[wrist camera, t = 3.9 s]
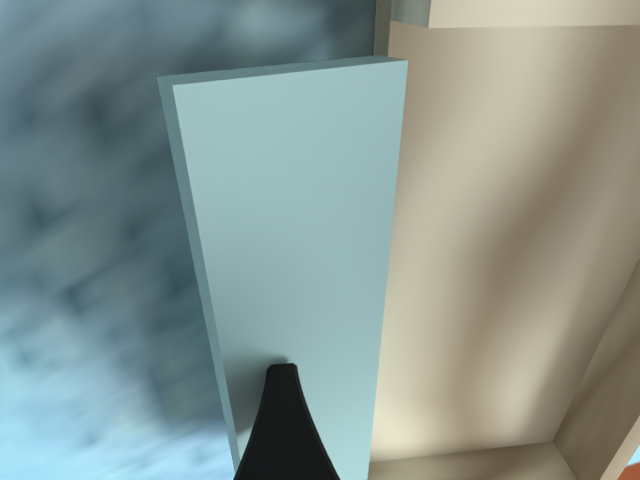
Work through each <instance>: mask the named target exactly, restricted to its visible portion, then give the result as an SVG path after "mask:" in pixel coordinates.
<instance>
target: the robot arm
mask: <svg viewBox="0 0 640 480" xmlns="http://www.w3.org/2000/svg"><path fill="white" fill-rule="evenodd" d="M233 480H340V478H339V476H338V474H337V472H336V470H335V468H334V466H333V464H332V462H331V460H330V458H329V456H328V454H327V451H326V449H325V447H324V445H323V443H322V441H321V438H320V436H319V433H318V431H317V429H316V426H315V424H314V422H313V419H312V417H311V414H310V411H309V409H308V406H307V403H306V400H305V397H304V394H303V390H302V387H301V383H300V379H299V375H298V368H297V365H295V364H294V363H286V364H274V365H270V367H269V368H268V369H267V372H266V380H265V385H264V390H263V394H262V398H261V402H260V405H259V409H258V413H257V416H256V419H255V422H254V425H253V428H252V431H251V434H250V437H249V440H248V443H247V446H246V449H245V451H244V454H243V456H242V459H241V461H240V464H239V466H238V469H237V472H236V474H235V477H234V479H233Z"/></svg>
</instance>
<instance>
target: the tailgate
mask: <svg viewBox="0 0 640 480" xmlns="http://www.w3.org/2000/svg"><path fill="white" fill-rule="evenodd" d="M407 69H408V60H405V59H399V58H393V57H387V56H381V55H374V56H364V57H353V58H343V59H333V60H322V61H312V62H301V63H291V64H281V65H270V66H260V67H249V68H239V69H229V70H218V71H208V72H198V73H187V74H177V75H166V76H156V78H157V83H158V88H159V93H160V98H161V103H162V108H163V113H164V118H165V123H166V128H167V133H168V138H169V143H170V148H171V153H172V158H173V163H174V168H175V173H176V178H177V183H178V188H179V193H180V198H181V203H182V208H183V213H184V218H185V224H186V229H187V234H188V239H189V244H190V249H191V254H192V259H193V264H194V269H195V274H196V279H197V284H198V289H199V294H200V299H201V304H202V309H203V314H204V319H205V324H206V329H207V334H208V339H209V344H210V349H211V354H212V359H213V364H214V369H215V374H216V379H217V384H218V390H219V395H220V400H221V405H222V410H223V415H224V420H225V425H226V430H227V435H228V440H229V445H230V450H231V455H232V460H233V465H234V470H235V474H236V472H237V469H238V466H239V464H240V461H241V459H242V456H243V454H244V451H245V449H246V446H247V443H248V440H249V437H250V434H251V431H252V428H253V425H254V422H255V419H256V416H257V413H258V409H259V405H260V402H261V398H262V394H263V390H264V385H265V380H266V372H267V369H268V368H269V367H270V365H274V364H286V363H294V364H295V365H297V368H298V375H299V379H300V383H301V387H302V390H303V394H304V397H305V400H306V403H307V406H308V409H309V411H310V414H311V417H312V419H313V422H314V424H315V426H316V429H317V431H318V433H319V436H320V438H321V441H322V443H323V445H324V447H325V449H326V451H327V454H328V456H329V458H330V460H331V462H332V464H333V466H334V468H335V470H336V472H337V474H338V476H339V478H340V480H366V479H368V470H369V460H370V450H371V439H372V429H373V419H374V409H375V398H376V388H377V378H378V367H379V357H380V347H381V336H382V326H383V316H384V306H385V295H386V285H387V275H388V264H389V254H390V244H391V234H392V223H393V213H394V203H395V192H396V182H397V172H398V161H399V151H400V141H401V131H402V120H403V110H404V100H405V89H406V79H407Z"/></svg>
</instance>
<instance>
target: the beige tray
mask: <svg viewBox="0 0 640 480" xmlns="http://www.w3.org/2000/svg"><path fill="white" fill-rule="evenodd" d="M374 55H381V56H387V57H393V58H399V59H405V60H408V69H407V79H406V89H405V100H404V110H403V120H402V131H401V141H400V151H399V161H398V172H397V182H396V192H395V203H394V213H393V223H392V234H391V244H390V254H389V264H388V275H387V285H386V295H385V306H384V316H383V326H382V336H381V347H380V357H379V367H378V378H377V388H376V398H375V409H374V419H373V429H372V439H371V450H370V460H369V470H368V479H366V480H617V479H618V477H619V475H620V474H621V473H622V471H623V469H624V468H625V467H626V465H627V464H628V462H629V460H630V459H631V457H632V456H633V454H634V453H635V451H636V450H637V448H638V447H639V445H640V0H376V13H375V31H374V48H373V56H374Z"/></svg>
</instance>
